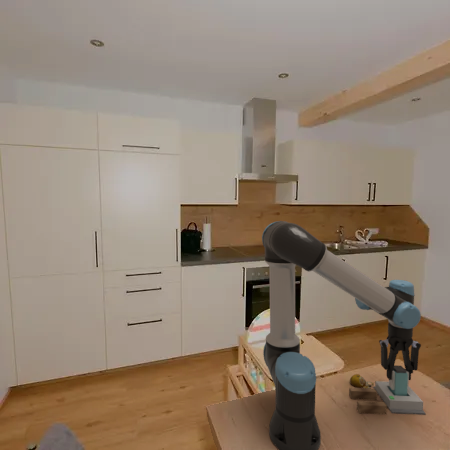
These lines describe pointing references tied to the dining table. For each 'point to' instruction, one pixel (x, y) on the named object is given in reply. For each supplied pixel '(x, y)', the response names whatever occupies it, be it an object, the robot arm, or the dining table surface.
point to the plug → (400, 381)
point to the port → (399, 400)
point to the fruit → (359, 381)
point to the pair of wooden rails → (367, 406)
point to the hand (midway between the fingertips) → (398, 387)
